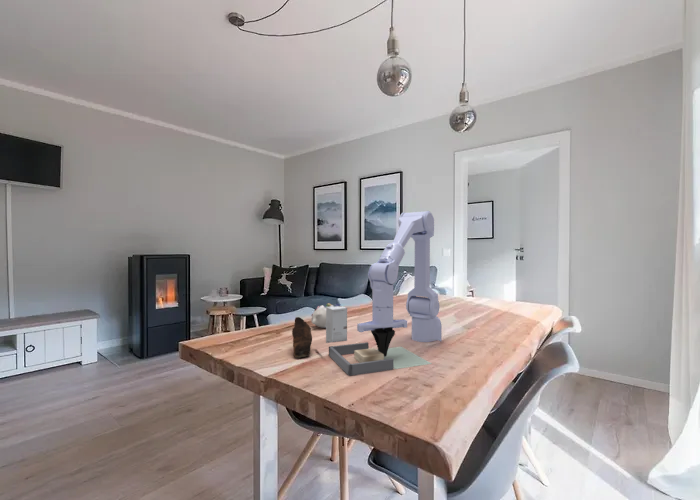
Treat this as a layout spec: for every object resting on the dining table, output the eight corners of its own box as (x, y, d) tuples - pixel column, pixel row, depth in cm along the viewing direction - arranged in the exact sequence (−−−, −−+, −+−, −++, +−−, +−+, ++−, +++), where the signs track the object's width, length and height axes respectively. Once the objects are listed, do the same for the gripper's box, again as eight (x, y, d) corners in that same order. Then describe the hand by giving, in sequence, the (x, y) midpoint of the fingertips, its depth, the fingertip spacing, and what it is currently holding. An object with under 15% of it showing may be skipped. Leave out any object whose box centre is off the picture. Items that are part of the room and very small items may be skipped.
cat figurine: (332, 300, 142) (314, 301, 128) (346, 311, 139) (329, 313, 125) (320, 318, 143) (302, 321, 129) (334, 330, 140) (317, 334, 126)
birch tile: (373, 358, 94) (373, 347, 94) (383, 365, 88) (383, 354, 88) (354, 361, 92) (354, 350, 92) (363, 368, 86) (363, 357, 86)
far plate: (401, 351, 102) (401, 346, 102) (431, 369, 87) (431, 363, 87) (368, 355, 98) (368, 350, 98) (395, 374, 83) (395, 369, 83)
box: (367, 355, 98) (367, 342, 98) (393, 375, 83) (393, 359, 83) (328, 360, 94) (328, 346, 94) (348, 382, 79) (348, 365, 79)
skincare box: (332, 346, 107) (332, 309, 107) (325, 343, 111) (325, 307, 111) (348, 343, 110) (348, 307, 110) (340, 340, 114) (340, 305, 114)
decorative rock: (293, 347, 107) (293, 313, 107) (312, 346, 107) (312, 313, 107) (290, 359, 95) (290, 322, 95) (312, 359, 95) (312, 321, 95)
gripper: (398, 302, 97) (398, 348, 98) (352, 305, 92) (352, 354, 92) (411, 306, 91) (411, 355, 91) (363, 309, 85) (363, 362, 86)
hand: (382, 355), depth 91 cm, fingers closed
